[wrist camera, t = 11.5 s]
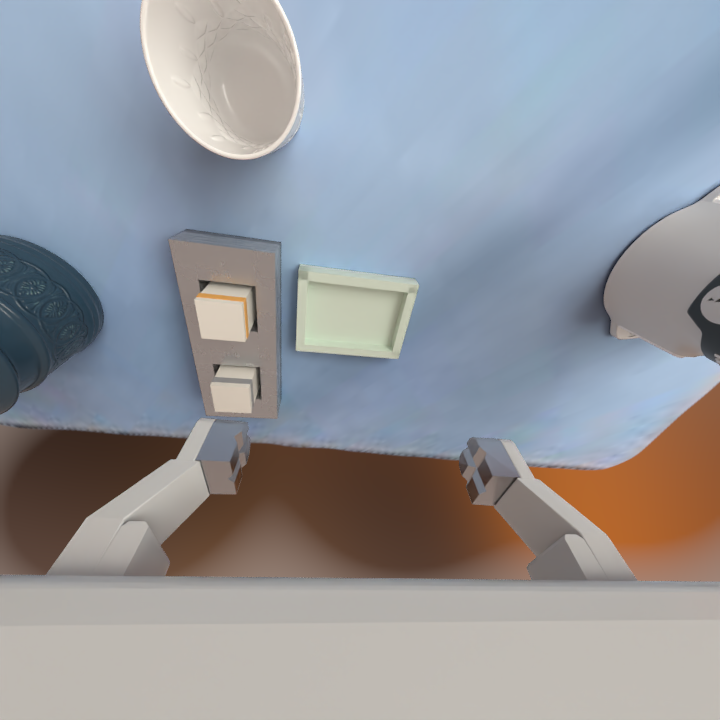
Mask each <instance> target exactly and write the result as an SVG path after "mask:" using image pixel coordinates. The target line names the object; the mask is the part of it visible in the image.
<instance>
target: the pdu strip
mask: <svg viewBox="0 0 720 720" xmlns="http://www.w3.org/2000/svg"><path fill="white" fill-rule="evenodd" d="M168 240H169V245H170V250H171V254H172V259H173V263H174V268H175V273H176V277H177V282H178V287H179V291H180V296H181V301H182V305H183V310H184V314H185V319H186V324H187V328H188V333H189V338H190V342H191V347H192V352H193V356H194V361H195V366H196V370H197V375H198V379H199V384H200V389H201V393H202V398H203V403H204V407H205V412H206V416H229V417H252V418H274V419H277V417H278V412H279V407H280V402H281V242H276V241H269V240H262V239H255V238H247V237H240V236H233V235H226V234H218V233H211V232H204V231H197V230H190V229H186V230H184V231H182V232H181V233H179V234H177V235H175V236H173V237H171V238H170V239H168ZM211 281H215V282H224V283H232V284H241V285H250V286H255V288H256V306H257V317H256V319H255V321H254V324H253V326H252V328H251V330H250V332H249V336H248V339H246V341H245V342H238V341H226V340H214V339H202V338H201V333H200V328H199V322H198V317H197V312H196V306H195V301H194V299H195V298H196V296H197V295H198V294H199V293H201V292H202V291H203V290H204V289H205V287H206V286H207V285H208V284H209V283H210V282H211ZM220 365H234V366H248V367H260V378H261V383H260V386H259V389H258V393H257V396H256V399H255V403H254V408H253V410H252V413H233V412H215V408H214V403H213V398H212V392H211V387H210V385H211V383H212V380H213V378H214V377H215V375H216V373H217V371H218V369H219V367H220Z"/></svg>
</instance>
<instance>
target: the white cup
mask: <svg viewBox="0 0 720 720" xmlns="http://www.w3.org/2000/svg"><path fill="white" fill-rule="evenodd" d="M140 34H141V43H142V49H143V54H144V58H145V62H146V65H147V69H148V72H149V75H150V77H151V80H152V82H153V85H154V87H155V89H156V91H157V93H158V95H159V97H160V99H161V101H162V102H163V104H164V106H165V107H166V109H167V110H168V112H169V113H170V115H171V116H172V117H173V119H174V120H175V121H176V122H177V124H178V125H179V126H180V127H181V128H182V129H183V130H184V131H185V132H186V133H187V134H188V135H189V136H190V137H191V138H192V139H194V140H195V141H196V142H197V143H199V144H200V145H201V146H203V147H204V148H206V149H208V150H210V151H211V152H213V153H216V154H218V155H220V156H223V157H226V158H231V159H237V160H249V159H255V158H259V157H262V156H264V155H267V154H270V153H273V152H275V151H277V150H279V149H280V148H282V147H284V146H285V145H286V144H287V143H288V142H289V141H290V140H291V139H292V138H293V137H294V135H295V134H296V132H297V131H298V130H299V127H300V123H301V120H302V116H303V111H304V84H303V78H302V72H301V66H300V59H299V54H298V49H297V45H296V41H295V38H294V35H293V32H292V29H291V26H290V24H289V21H288V19H287V17H286V15H285V13H284V11H283V9H282V7H281V5H280V3H279V2H278V0H142V3H141V11H140Z"/></svg>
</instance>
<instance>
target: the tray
mask: <svg viewBox="0 0 720 720" xmlns="http://www.w3.org/2000/svg"><path fill="white" fill-rule="evenodd" d="M418 288H419V284H418V283H417V281H416V280H415V279H413V278H405V277H397V276H390V275H382V274H374V273H366V272H358V271H351V270H343V269H335V268H327V267H319V266H311V265H304V264H300V266H299V270H298V298H297V328H296V351H306V352H318V353H330V354H342V355H355V356H367V357H379V358H392V359H398V358H399V354H400V351H401V347H402V344H403V340H404V337H405V333H406V330H407V326H408V323H409V319H410V316H411V312H412V309H413V305H414V302H415V298H416V295H417V291H418Z"/></svg>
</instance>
